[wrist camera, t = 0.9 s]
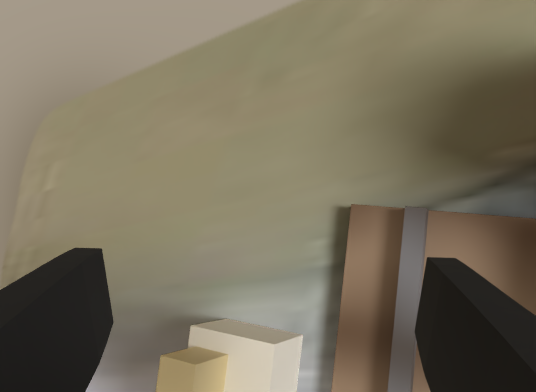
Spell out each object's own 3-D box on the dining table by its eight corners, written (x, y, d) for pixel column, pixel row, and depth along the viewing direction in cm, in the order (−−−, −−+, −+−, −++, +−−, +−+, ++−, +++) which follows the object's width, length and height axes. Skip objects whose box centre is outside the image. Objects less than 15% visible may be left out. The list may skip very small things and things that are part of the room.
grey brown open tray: (598, 583, 20) (625, 662, 16) (326, 487, 25) (294, 529, 21) (617, 227, 21) (646, 217, 17) (355, 206, 27) (331, 195, 23)
